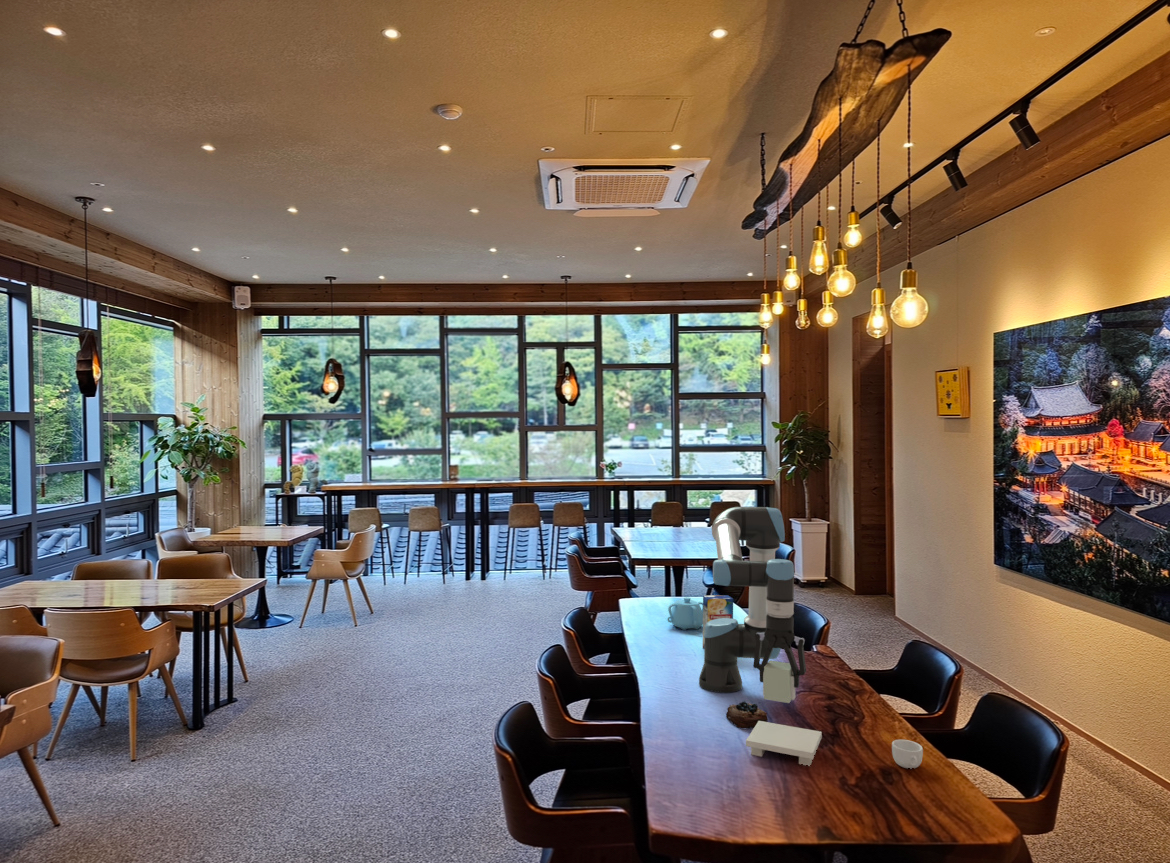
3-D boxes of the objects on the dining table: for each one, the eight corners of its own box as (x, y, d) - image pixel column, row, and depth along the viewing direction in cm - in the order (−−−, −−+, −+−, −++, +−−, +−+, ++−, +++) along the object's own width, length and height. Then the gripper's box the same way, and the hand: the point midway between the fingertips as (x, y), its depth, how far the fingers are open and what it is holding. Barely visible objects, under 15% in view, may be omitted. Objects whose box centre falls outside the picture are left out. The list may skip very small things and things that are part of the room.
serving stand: (758, 735, 219) (758, 720, 219) (821, 747, 211) (821, 731, 211) (745, 756, 205) (746, 740, 205) (812, 770, 197) (813, 753, 197)
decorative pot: (662, 627, 342) (663, 598, 342) (678, 620, 356) (679, 592, 356) (694, 633, 333) (695, 603, 333) (710, 626, 346) (710, 597, 346)
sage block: (769, 691, 214) (769, 660, 214) (794, 695, 210) (794, 663, 210) (763, 699, 207) (764, 666, 207) (789, 703, 204) (789, 670, 204)
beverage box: (702, 648, 310) (702, 595, 310) (727, 647, 311) (728, 595, 312) (707, 652, 303) (707, 599, 303) (732, 652, 305) (733, 598, 305)
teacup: (887, 758, 205) (887, 739, 205) (915, 759, 204) (915, 739, 205) (901, 775, 195) (902, 754, 195) (931, 775, 194) (931, 755, 195)
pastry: (739, 731, 223) (740, 711, 223) (721, 716, 235) (722, 698, 235) (772, 727, 226) (772, 708, 226) (752, 713, 238) (753, 695, 238)
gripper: (741, 613, 210) (740, 694, 210) (813, 621, 201) (813, 706, 201) (748, 608, 217) (747, 686, 217) (818, 616, 208) (817, 698, 208)
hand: (779, 696), depth 209 cm, fingers closed on sage block, 7 cm apart
